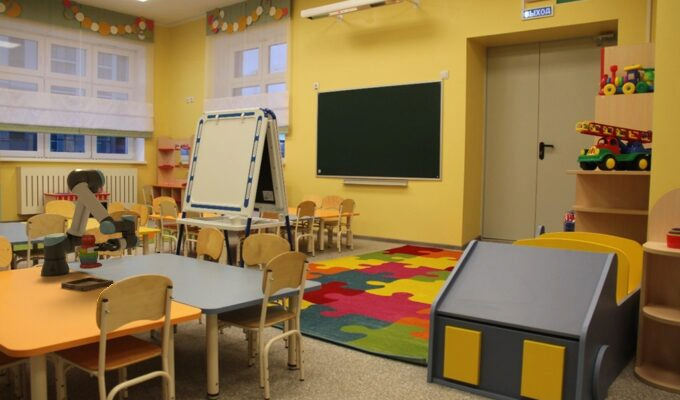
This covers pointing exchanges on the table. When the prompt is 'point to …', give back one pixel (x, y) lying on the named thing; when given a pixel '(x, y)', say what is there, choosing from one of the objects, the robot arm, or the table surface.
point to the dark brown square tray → (86, 284)
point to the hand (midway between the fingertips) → (81, 250)
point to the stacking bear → (88, 258)
